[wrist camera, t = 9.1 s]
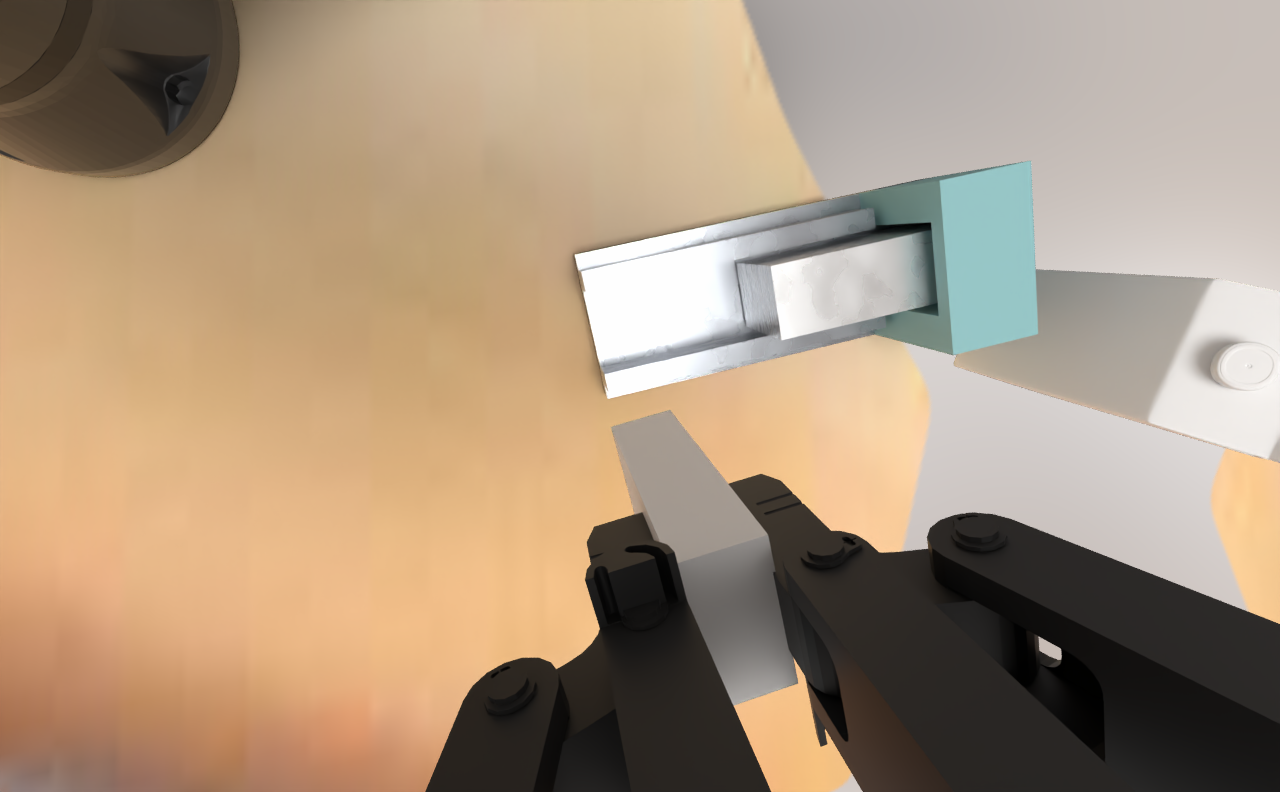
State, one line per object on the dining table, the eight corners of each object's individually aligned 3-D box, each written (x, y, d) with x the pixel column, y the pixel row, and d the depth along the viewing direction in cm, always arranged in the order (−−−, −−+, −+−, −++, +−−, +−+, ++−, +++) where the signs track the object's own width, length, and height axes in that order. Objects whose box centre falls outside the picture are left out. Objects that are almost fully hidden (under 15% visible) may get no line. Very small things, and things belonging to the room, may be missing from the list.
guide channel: (573, 254, 39) (577, 255, 35) (919, 179, 41) (958, 172, 37) (605, 393, 41) (612, 408, 37) (931, 315, 44) (969, 321, 40)
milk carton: (1073, 296, 45) (1438, 332, 27) (1032, 391, 46) (1354, 486, 28) (990, 266, 44) (1317, 282, 25) (950, 364, 45) (1235, 447, 27)
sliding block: (735, 261, 39) (771, 264, 33) (915, 220, 40) (981, 216, 34) (746, 327, 40) (782, 342, 34) (921, 286, 41) (986, 293, 35)
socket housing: (859, 193, 39) (939, 180, 32) (933, 177, 40) (1030, 160, 32) (874, 334, 42) (953, 355, 34) (944, 317, 42) (1038, 333, 34)
